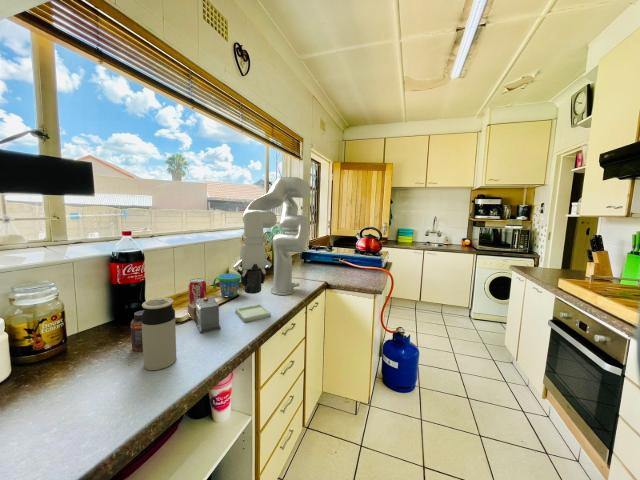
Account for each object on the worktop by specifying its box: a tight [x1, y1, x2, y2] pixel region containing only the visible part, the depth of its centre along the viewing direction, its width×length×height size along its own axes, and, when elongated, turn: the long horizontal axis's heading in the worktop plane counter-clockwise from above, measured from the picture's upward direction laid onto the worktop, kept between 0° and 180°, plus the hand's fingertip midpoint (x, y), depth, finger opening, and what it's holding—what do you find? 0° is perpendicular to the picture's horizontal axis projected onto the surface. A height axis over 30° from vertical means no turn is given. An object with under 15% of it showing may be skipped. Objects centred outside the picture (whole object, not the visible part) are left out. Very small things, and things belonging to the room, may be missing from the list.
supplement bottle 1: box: [130, 309, 144, 352], centre depth 81 cm, size 6×6×11 cm
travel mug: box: [141, 297, 177, 371], centre depth 73 cm, size 8×8×18 cm
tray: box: [235, 303, 272, 323], centre depth 108 cm, size 11×11×2 cm
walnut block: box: [187, 303, 197, 321], centre depth 104 cm, size 5×5×5 cm
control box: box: [194, 296, 222, 334], centre depth 97 cm, size 7×11×10 cm, turn 34°
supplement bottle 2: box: [243, 264, 263, 295], centre depth 106 cm, size 7×7×12 cm
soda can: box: [188, 277, 207, 305], centre depth 114 cm, size 7×7×12 cm
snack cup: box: [212, 272, 244, 298], centre depth 129 cm, size 16×10×10 cm
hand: (252, 283), depth 107 cm, fingers closed on supplement bottle 2, 6 cm apart
